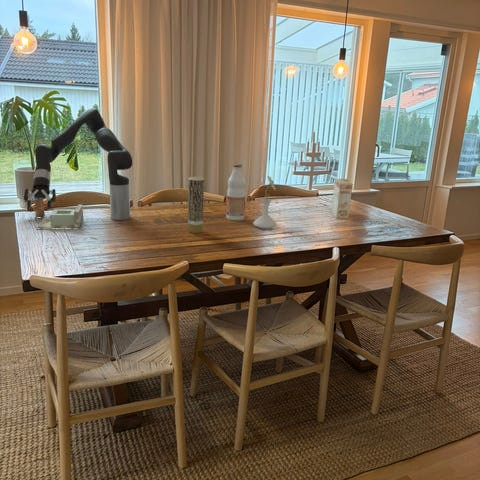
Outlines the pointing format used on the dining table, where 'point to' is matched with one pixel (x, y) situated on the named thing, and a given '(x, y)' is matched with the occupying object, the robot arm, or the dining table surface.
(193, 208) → the paper tube
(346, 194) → the coffeecake box
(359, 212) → the dining table surface
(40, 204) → the dowel
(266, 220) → the flower in vase
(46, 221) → the backstop board
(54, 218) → the socket block
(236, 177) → the fruit juice
